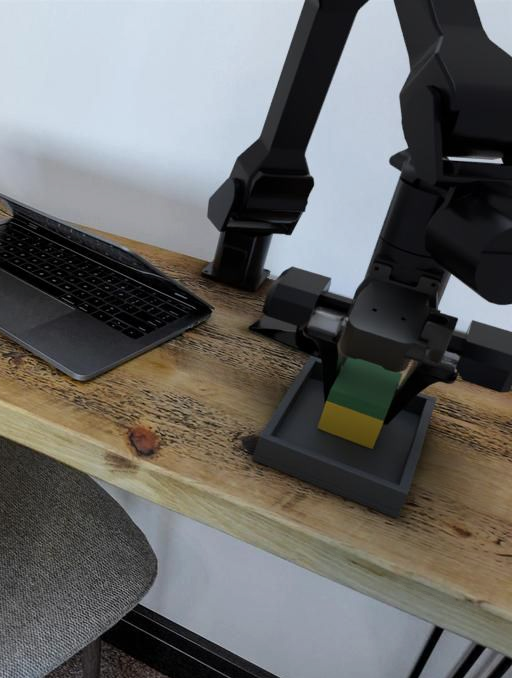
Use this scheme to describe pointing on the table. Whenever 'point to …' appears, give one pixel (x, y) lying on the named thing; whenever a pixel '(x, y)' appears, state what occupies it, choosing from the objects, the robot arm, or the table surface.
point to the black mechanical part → (287, 335)
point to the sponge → (359, 401)
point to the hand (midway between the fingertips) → (355, 411)
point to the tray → (344, 446)
